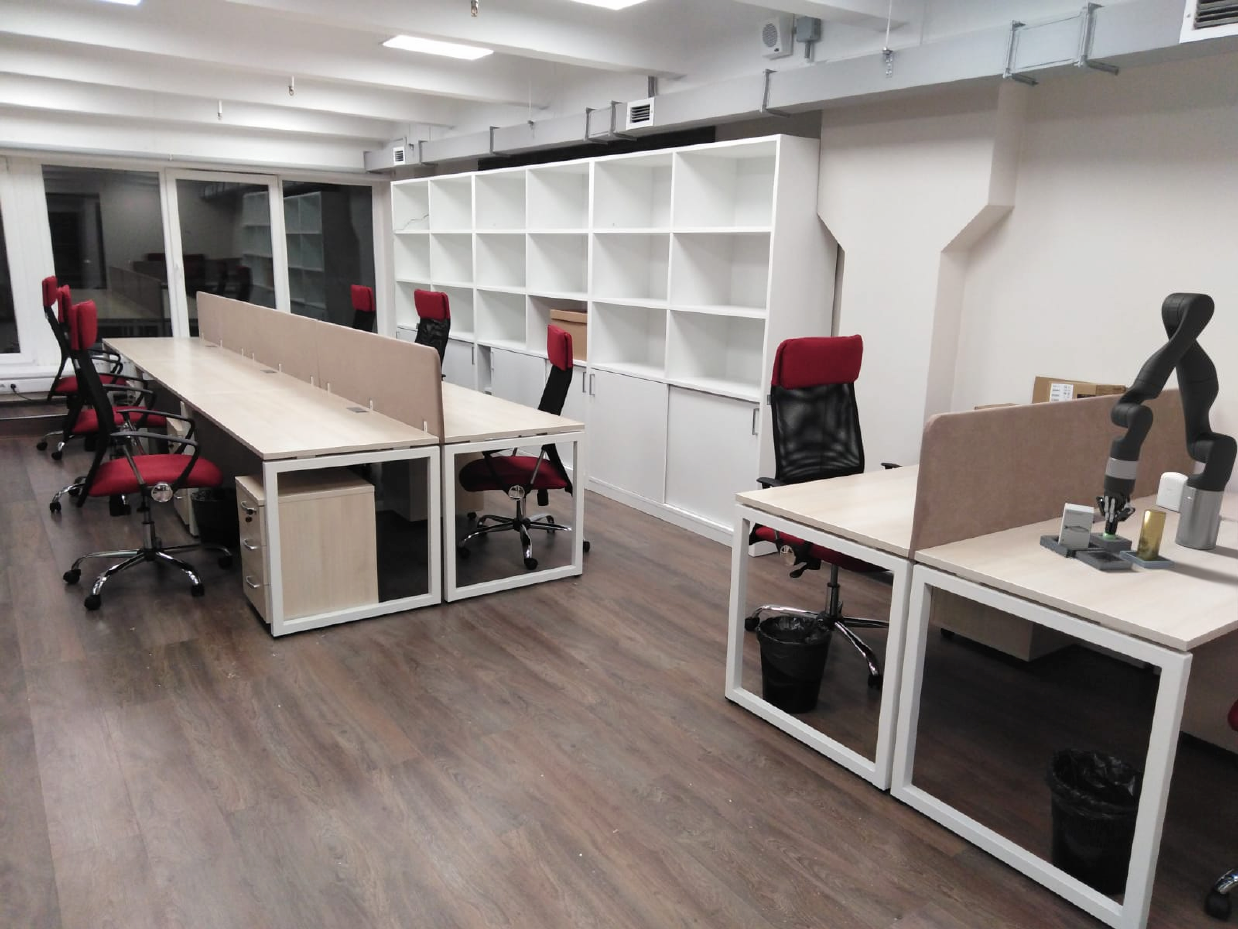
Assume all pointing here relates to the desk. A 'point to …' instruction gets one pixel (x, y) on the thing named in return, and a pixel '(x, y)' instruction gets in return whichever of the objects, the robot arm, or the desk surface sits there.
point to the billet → (1151, 535)
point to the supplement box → (1076, 526)
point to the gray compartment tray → (1087, 554)
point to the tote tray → (1146, 564)
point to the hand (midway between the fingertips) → (1109, 533)
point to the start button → (1109, 536)
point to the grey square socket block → (1112, 542)
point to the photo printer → (1171, 491)
